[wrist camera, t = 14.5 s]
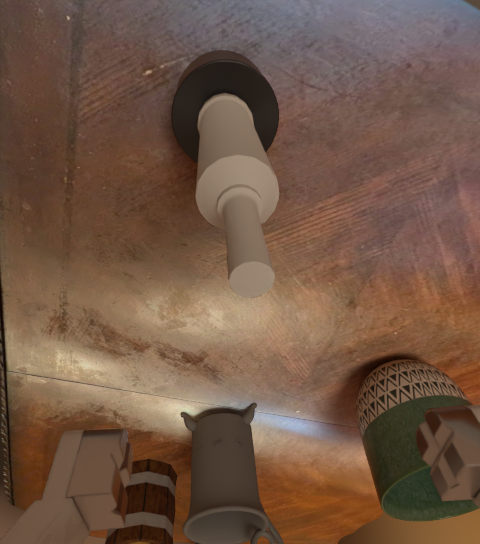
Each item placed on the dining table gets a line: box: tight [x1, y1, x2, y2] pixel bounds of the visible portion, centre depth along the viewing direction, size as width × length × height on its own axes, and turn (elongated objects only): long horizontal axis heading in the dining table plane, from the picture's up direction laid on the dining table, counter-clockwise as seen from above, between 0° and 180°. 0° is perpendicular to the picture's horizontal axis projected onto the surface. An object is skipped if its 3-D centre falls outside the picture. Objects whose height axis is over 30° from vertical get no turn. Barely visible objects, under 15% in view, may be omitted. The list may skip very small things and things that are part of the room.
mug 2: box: [181, 403, 284, 544], centre depth 69 cm, size 19×15×25 cm
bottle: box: [195, 93, 279, 298], centre depth 27 cm, size 5×5×25 cm
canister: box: [172, 50, 279, 163], centre depth 40 cm, size 10×10×7 cm
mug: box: [105, 459, 177, 544], centre depth 84 cm, size 20×14×15 cm
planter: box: [356, 359, 479, 521], centre depth 65 cm, size 20×20×21 cm
